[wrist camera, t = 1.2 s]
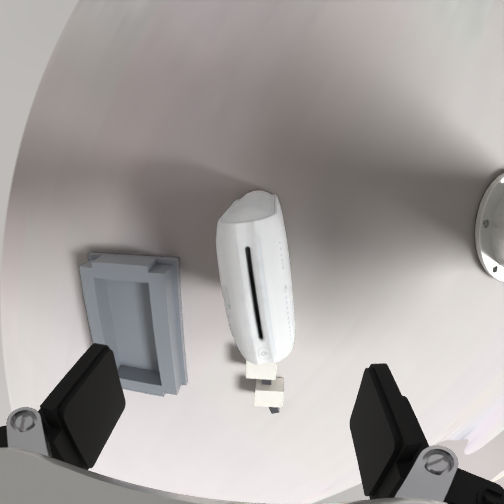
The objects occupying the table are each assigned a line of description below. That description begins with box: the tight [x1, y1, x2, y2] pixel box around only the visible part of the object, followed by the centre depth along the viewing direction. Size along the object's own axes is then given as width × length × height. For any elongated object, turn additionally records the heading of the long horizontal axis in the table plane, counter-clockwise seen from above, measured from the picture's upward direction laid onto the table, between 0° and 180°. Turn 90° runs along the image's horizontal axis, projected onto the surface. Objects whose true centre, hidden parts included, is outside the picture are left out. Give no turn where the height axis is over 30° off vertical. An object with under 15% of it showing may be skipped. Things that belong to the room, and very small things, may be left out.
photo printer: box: [216, 190, 295, 365], centre depth 23 cm, size 10×4×12 cm, turn 8°
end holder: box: [79, 252, 188, 397], centre depth 31 cm, size 10×15×3 cm, turn 178°
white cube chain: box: [246, 360, 284, 414], centre depth 32 cm, size 4×13×2 cm, turn 178°
